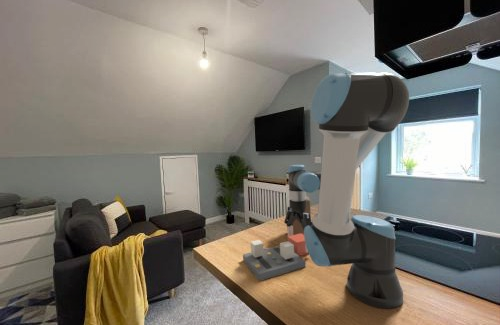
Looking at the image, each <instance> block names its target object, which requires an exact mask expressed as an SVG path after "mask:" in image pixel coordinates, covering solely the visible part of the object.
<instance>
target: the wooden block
mask: <svg viewBox="0 0 500 325" xmlns="http://www.w3.org/2000/svg"><path fill="white" fill-rule="evenodd" d="M309 197H310V196H307V195H306V199H305V200H306V204H307V207H306V209H305V213H310V218H311V219H312V217H311V216H312V215H311V214H312V213H311V200H310V198H309ZM303 220H304V219H303ZM291 226H293V235H296V234H300V233H301V234H303V235H304V230H303V227H302V225H301V223H299V221H298V220H297V219H295V221H294V222H293V224H292V225H291Z"/></svg>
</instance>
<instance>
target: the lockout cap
mask: <svg viewBox="0 0 500 325" xmlns="http://www.w3.org/2000/svg"><path fill="white" fill-rule="evenodd" d="M286 238H287V241H289V242H290V243H292V244H293V245H294V253H296V254H297V255H298V256H300V257H301V256H304V255H308V254H309V253H308V252H307V253H306V247H305V239H304V235H303V234H301V233H300V234H296V235H291V236H288V235H287V237H286Z"/></svg>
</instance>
